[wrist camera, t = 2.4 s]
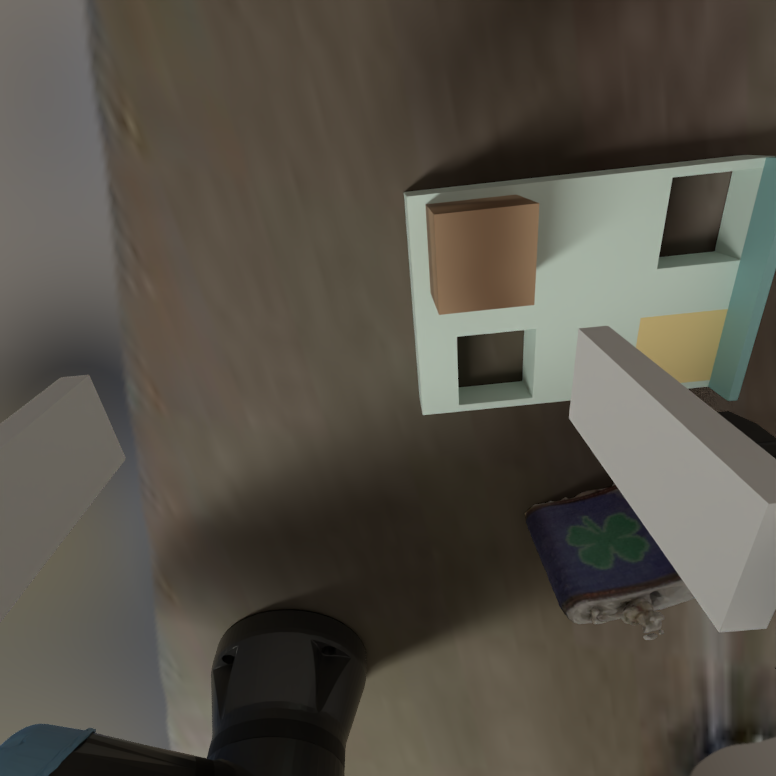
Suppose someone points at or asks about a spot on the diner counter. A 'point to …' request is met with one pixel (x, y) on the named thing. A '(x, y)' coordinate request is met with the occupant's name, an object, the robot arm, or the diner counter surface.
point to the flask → (604, 560)
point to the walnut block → (482, 253)
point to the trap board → (609, 282)
